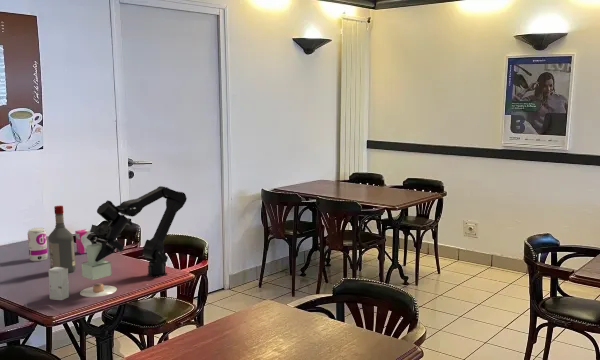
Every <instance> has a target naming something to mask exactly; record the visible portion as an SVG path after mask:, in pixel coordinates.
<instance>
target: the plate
mask: <svg viewBox="0 0 600 360" xmlns="http://www.w3.org/2000/svg"><path fill="white" fill-rule="evenodd" d="M103 287H104V291H103V292H98V293H95V292H93V286H89V287H87V288H84V289H82V290H81V291H79V294H80V296H83V297H88V298H95V297H96V298H98V297H104V296H108V295H111V294H114V293H115V292H116V291H117V290H118V289H117V287H116V286H114V285H103Z"/></svg>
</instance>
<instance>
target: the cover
mask: <svg viewBox="0 0 600 360" xmlns="http://www.w3.org/2000/svg"><path fill="white" fill-rule="evenodd" d="M91 244H92V243H91ZM101 249H102V245H101V244H97V243H96V244H92V245H87V254H86V256H87V257H86V258H87V261H84V262H81V263H80V264H81V277H83V278H86V279H88V280H92V281H95V280H98V279H101V278H107V277H109V276H110V277H111V275H112V268H111V266H112V265H111V264H112V263H111V261H109V260H106V259H104V258H103V259H101V260H100V261H98V262H96V261H95V259H96V257H97V256H98V254H99V252H100V250H101Z"/></svg>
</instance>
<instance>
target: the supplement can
mask: <svg viewBox="0 0 600 360" xmlns="http://www.w3.org/2000/svg"><path fill="white" fill-rule="evenodd" d="M27 245H28V256H29V260H30V261H31V262H42V261H45V260H47V259H48V258H49V253H48V242H47V232H46V230H45V228H43V227H34V228H30V229H28V230H27Z"/></svg>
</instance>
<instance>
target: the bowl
mask: <svg viewBox="0 0 600 360" xmlns="http://www.w3.org/2000/svg"><path fill="white" fill-rule="evenodd" d="M103 286H104V283H102V282H101V283H95V284H92V287H93V292H95V293H98V292H103V291H104V287H103Z"/></svg>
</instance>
